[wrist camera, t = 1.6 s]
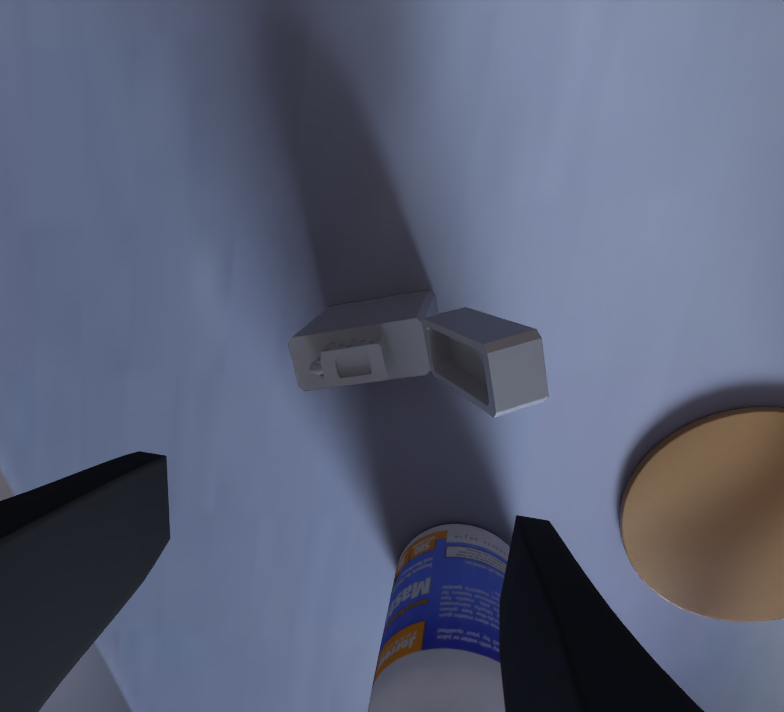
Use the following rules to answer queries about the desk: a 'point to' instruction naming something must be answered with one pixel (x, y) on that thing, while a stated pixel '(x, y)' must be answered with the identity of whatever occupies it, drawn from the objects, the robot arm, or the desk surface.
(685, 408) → the desk surface
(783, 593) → the coaster
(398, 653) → the pill bottle
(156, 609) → the desk surface
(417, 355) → the lighter
